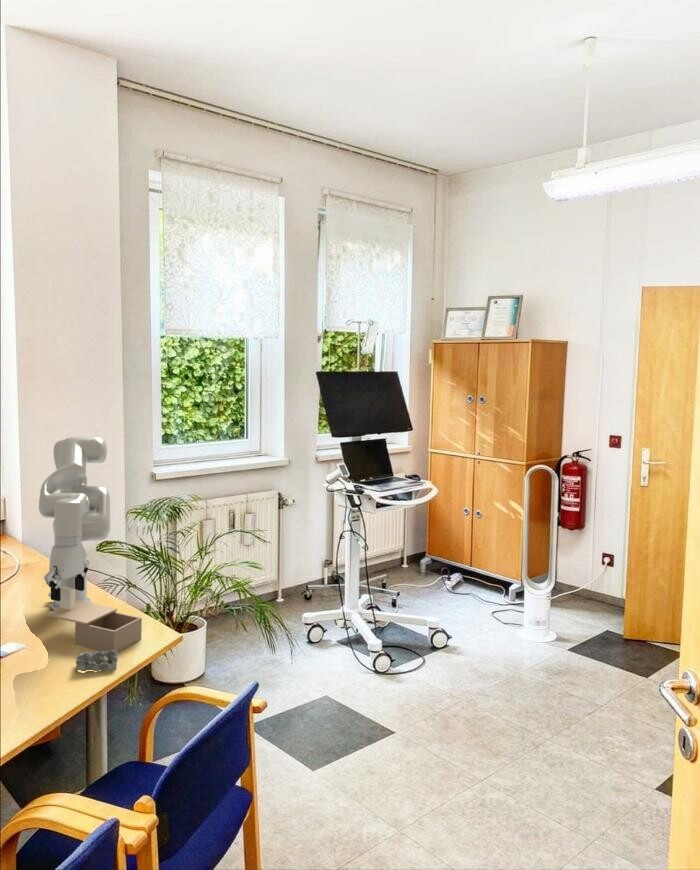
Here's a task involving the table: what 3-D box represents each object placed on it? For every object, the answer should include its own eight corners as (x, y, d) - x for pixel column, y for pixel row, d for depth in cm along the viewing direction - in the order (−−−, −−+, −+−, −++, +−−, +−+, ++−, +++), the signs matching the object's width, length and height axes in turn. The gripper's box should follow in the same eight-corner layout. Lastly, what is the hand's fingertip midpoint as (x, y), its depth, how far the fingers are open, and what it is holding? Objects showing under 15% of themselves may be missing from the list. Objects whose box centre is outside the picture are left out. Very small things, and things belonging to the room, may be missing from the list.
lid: (46, 615, 208) (46, 593, 207) (78, 602, 220) (78, 581, 219) (86, 625, 203) (86, 602, 202) (117, 610, 215) (117, 589, 214)
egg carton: (74, 675, 187) (74, 660, 187) (77, 663, 194) (77, 649, 194) (116, 672, 190) (116, 658, 189) (118, 660, 197) (118, 646, 197)
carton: (75, 644, 206) (75, 622, 205) (103, 630, 217) (104, 609, 216) (114, 654, 200) (114, 631, 200) (141, 639, 212) (141, 617, 211)
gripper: (79, 531, 221) (78, 584, 223) (35, 545, 205) (35, 601, 207) (98, 535, 218) (97, 588, 220) (55, 549, 202) (55, 606, 204)
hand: (67, 595), depth 213 cm, fingers open, 9 cm apart
